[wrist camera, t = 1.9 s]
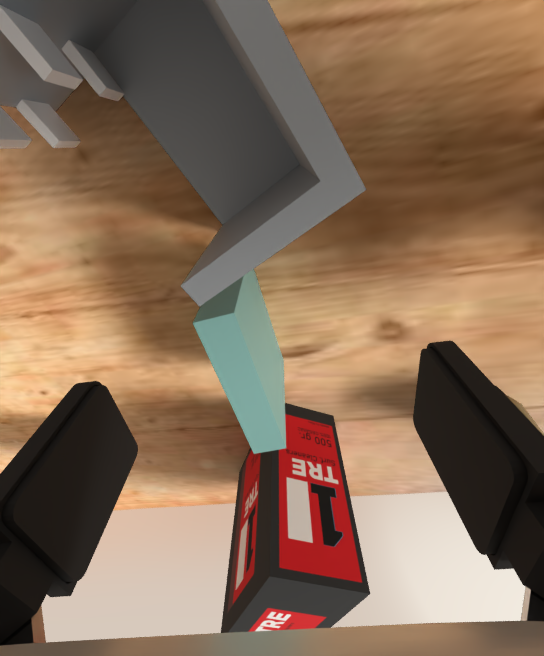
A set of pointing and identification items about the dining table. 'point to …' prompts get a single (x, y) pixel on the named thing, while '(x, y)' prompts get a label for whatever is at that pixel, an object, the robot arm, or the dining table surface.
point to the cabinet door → (246, 360)
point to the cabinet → (190, 110)
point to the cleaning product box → (294, 534)
